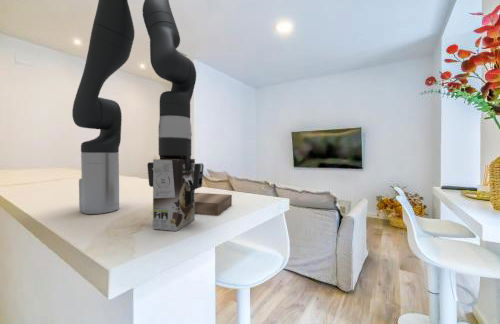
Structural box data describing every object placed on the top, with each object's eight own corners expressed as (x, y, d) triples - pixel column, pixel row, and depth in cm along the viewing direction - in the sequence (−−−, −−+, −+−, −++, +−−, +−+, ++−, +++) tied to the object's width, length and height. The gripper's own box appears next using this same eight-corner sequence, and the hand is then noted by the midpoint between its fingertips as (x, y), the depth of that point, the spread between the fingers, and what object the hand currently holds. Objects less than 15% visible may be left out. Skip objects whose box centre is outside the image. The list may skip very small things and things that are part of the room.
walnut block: (175, 214, 65) (175, 200, 65) (196, 204, 77) (196, 192, 77) (217, 217, 62) (217, 203, 62) (231, 206, 75) (231, 194, 74)
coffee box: (177, 231, 49) (177, 159, 48) (152, 229, 50) (151, 158, 50) (195, 219, 58) (195, 158, 57) (173, 218, 59) (173, 158, 59)
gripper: (138, 135, 51) (139, 207, 52) (195, 135, 48) (195, 211, 49) (158, 138, 59) (158, 200, 59) (209, 137, 56) (209, 203, 56)
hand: (175, 205), depth 54 cm, fingers closed on coffee box, 6 cm apart
